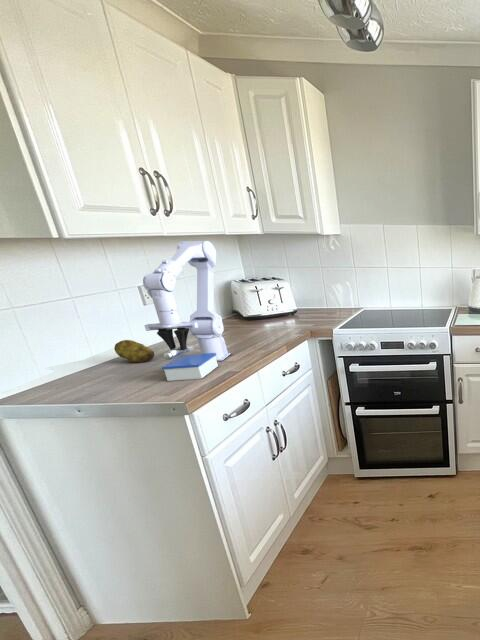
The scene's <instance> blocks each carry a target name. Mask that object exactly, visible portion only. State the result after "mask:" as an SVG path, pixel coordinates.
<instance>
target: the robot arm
mask: <svg viewBox="0 0 480 640" xmlns="http://www.w3.org/2000/svg"><path fill="white" fill-rule="evenodd" d="M176 249H177V250H176V252H175V253H174V255H173V256H172V257H171V259H162V261H161V264H159V265H158V267H157V268H155V269H154V270H153V272H151V273H146V274H145V275H144V276H143V278H142V286H143V288H144V289H145V290H146V291H147V293H148V296H149V297H150V298H151V299H152V302H153V306H154V310H155V312H156V315H157V318H158V322H157V323H147V324H145V325H144V329H145V332H150V331H157V332H156V335H157V336H158V337H160V339H161V340H163V342H165V344H166V345H167V347H168V348H169V350H171V349H173V348H175V347H177V346H176V342H175V338H174V335H175V336H176V338H177V341H178V344H179V345H180V348H181V350H185V349H187V347H186V345H187V342H188V335H189V333H190V335H191V336H194V338H195V339H197V342H198V346H199V350H200V354H207V353H216V356H215V357H216V361H217V362H220V361H221V362H222V361H224V360H225V359H226V358H227V357H229V356H230V355H231V354H232V353H231V352H228V348H227V344H226V341H225V338H224V337H223V336H222V335H223V333H224V323H223V317H222V316H221V315H220V314H218V313H217V312H215V267H216V266H217V250H216V248H215V246H214V244H213V243H212V242H210V241H209V240H203V241H202V240H198V241H197V240H196V241H194V240H193V241H192V240H191V241H189V240H187V241H186V240H181V241H179V242H178V243H177V244H176ZM187 263H188V264H189V265H190V266H191V267H194V268H195V269H196V275H197V276H196V311H193V313H191V314H190V315H189V321H182V318H181V315H180V311H179V308H178V304H177V301H176V298H175V293H174V290H175V289H176V283H177V279H178V278H179V277H180V276H181V275H182V274H183V272H184V269H183V267H184V266H185V265H187Z"/></svg>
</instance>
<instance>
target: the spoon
mask: <svg viewBox="0 0 480 640" xmlns="http://www.w3.org/2000/svg"><path fill="white" fill-rule="evenodd" d="M186 347H187V349H185V350H181V348H180V344H179V345H177V346H176V347H175V348H173V349H171V350H170V349H169V350H168V351H166V352H164V353H163V358H164V359H165V360H169V361H170V360H172V359H174V358H176V357H179V356H181V354H182V355H183V354H184V353H185V352H192V351H195V350H196V346H195V344H189V345H188V344H186Z"/></svg>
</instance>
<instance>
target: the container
mask: <svg viewBox="0 0 480 640" xmlns="http://www.w3.org/2000/svg"><path fill="white" fill-rule="evenodd" d="M215 356H216V353H207V354H201V353H193V354H182V355H179V356H177V358H175V359H174V360H172V361H170V362H168V363H166V364H164V365H163V366H161V370H163V371H164V374H165V377H166V380H167V382H174V381H185V380H198V379H203V378H204V377H206V376H207V375H209V374H210V373H211V372H212V371H214V370H215V369H216V368H218V367H219V365H218V361H216V357H215Z"/></svg>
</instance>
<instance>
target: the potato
mask: <svg viewBox="0 0 480 640" xmlns="http://www.w3.org/2000/svg"><path fill="white" fill-rule="evenodd" d="M113 349H114V351H115V354H116V355H118V357H120V358H122V359H125V360H127V361H128V362H129V363H144V362H149V361H151V360H153V359H154V358H155V352H154V351H153V350H152V349H151V348H150V347H148V346H147V345H144V344H143V343H141V342H137V341H135V340H132V339H124V340H120V341H119V342H116V343H115V345H114V348H113Z"/></svg>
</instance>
